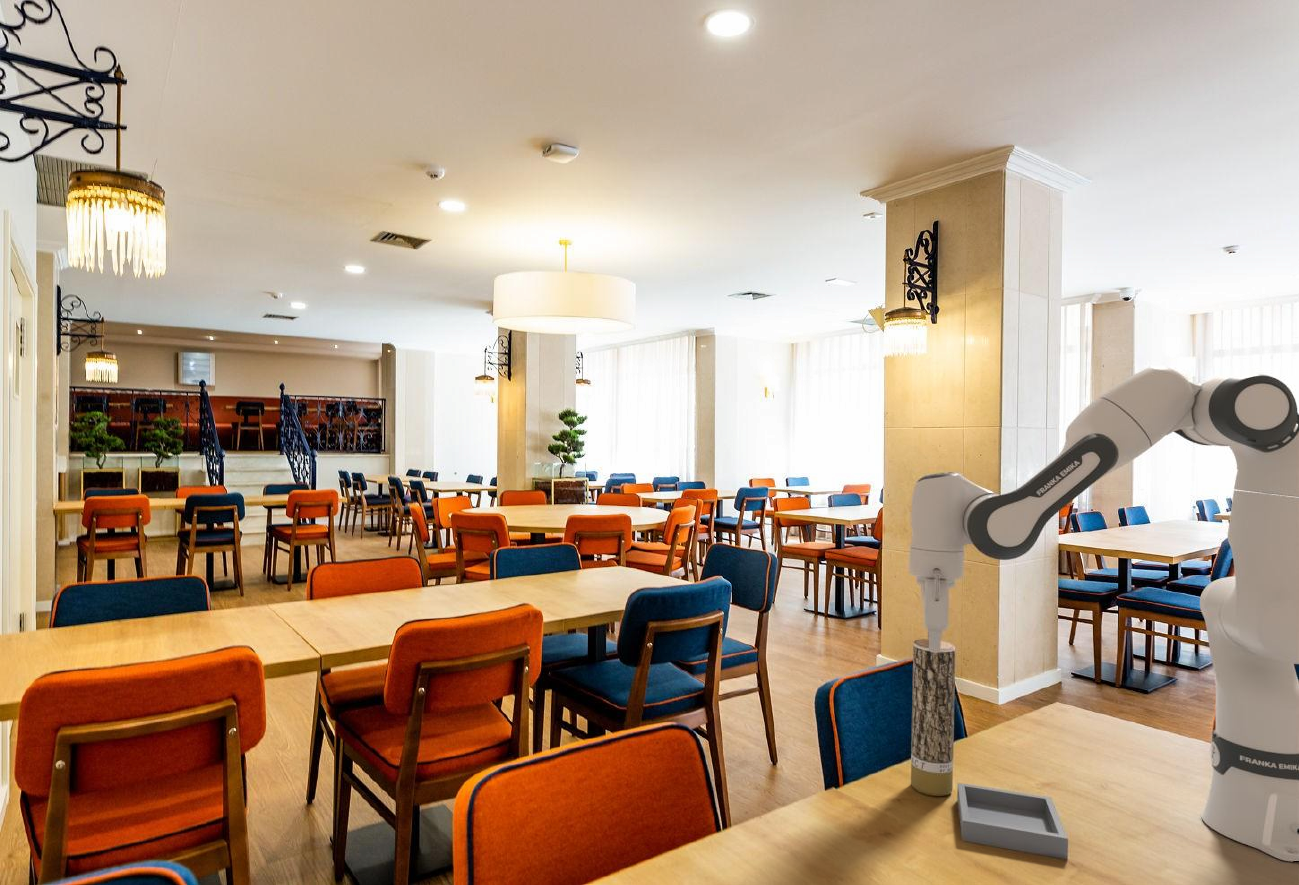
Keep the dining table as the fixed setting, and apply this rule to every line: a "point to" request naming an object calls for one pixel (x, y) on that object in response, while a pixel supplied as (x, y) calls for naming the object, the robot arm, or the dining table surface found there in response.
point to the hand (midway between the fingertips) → (933, 645)
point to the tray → (1011, 820)
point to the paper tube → (933, 718)
